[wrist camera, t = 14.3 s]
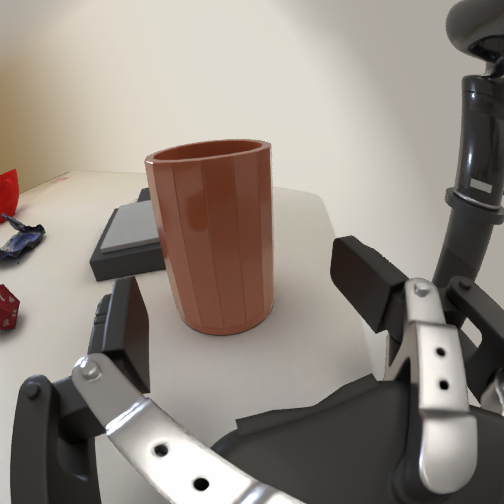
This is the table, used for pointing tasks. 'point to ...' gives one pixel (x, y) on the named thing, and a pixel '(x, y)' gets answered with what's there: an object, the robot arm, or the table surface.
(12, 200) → the ceramic cup
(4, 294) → the dice
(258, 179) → the cup
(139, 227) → the scale
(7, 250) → the snack package
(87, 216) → the table surface
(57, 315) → the table surface
